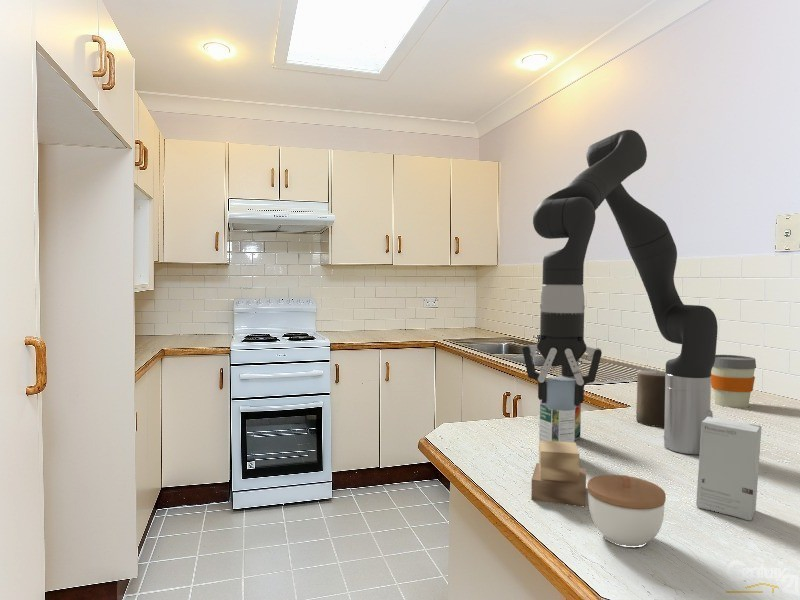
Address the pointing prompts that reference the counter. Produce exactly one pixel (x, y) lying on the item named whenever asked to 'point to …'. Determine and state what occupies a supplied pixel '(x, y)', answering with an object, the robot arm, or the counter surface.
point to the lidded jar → (626, 508)
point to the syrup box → (556, 424)
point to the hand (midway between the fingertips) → (560, 403)
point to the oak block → (558, 461)
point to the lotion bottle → (568, 373)
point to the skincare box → (728, 467)
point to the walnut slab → (559, 489)
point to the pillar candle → (651, 398)
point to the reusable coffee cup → (733, 380)
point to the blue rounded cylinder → (560, 393)
